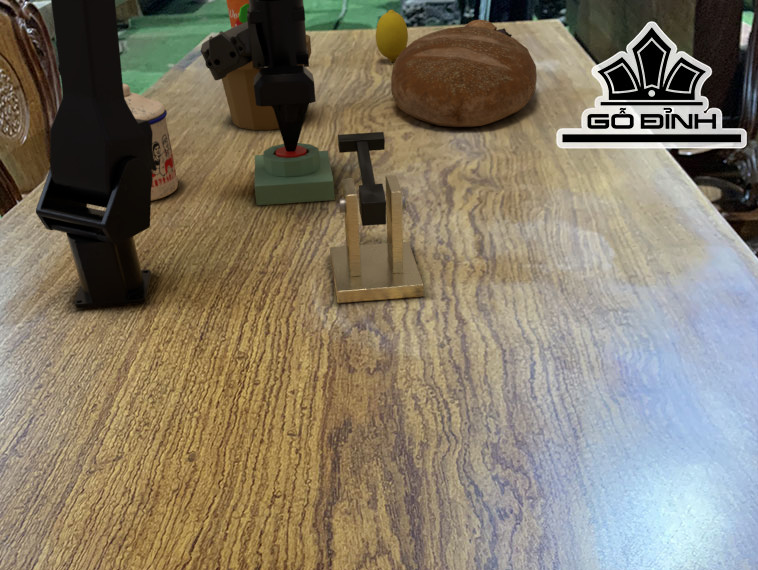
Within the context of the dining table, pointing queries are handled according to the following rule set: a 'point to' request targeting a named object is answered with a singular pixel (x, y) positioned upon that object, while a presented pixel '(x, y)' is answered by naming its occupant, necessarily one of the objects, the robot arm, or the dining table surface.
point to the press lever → (367, 175)
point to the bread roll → (485, 26)
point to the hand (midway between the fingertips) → (290, 150)
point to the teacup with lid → (155, 142)
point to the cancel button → (291, 152)
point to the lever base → (374, 253)
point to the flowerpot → (249, 94)
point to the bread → (463, 77)
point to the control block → (293, 177)
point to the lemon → (391, 35)
